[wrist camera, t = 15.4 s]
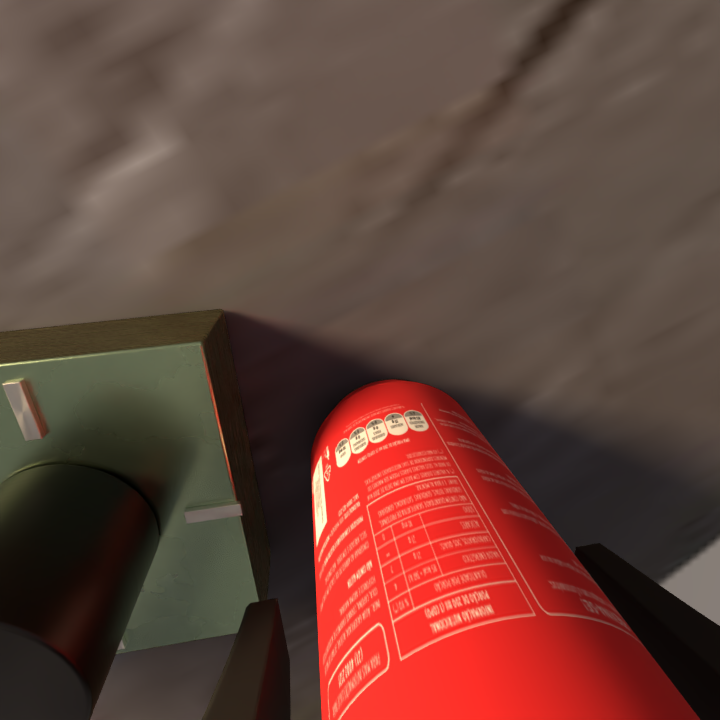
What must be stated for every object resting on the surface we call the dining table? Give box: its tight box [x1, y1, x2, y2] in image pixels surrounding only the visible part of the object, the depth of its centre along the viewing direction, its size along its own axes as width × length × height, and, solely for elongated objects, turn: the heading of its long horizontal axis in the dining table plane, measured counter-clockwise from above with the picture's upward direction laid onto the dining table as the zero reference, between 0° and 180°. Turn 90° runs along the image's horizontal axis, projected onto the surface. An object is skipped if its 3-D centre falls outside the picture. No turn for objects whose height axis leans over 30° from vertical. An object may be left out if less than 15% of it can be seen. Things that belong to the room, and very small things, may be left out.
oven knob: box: [0, 464, 159, 720], centre depth 9 cm, size 4×4×4 cm
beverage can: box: [311, 379, 700, 720], centre depth 9 cm, size 5×5×12 cm
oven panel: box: [0, 309, 271, 654], centre depth 12 cm, size 10×9×3 cm
